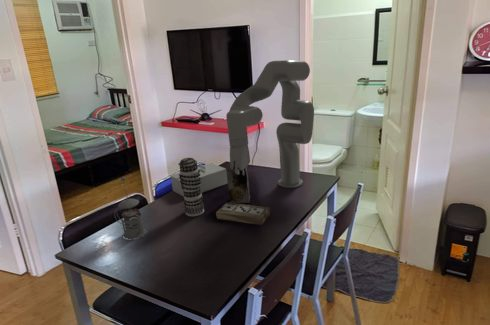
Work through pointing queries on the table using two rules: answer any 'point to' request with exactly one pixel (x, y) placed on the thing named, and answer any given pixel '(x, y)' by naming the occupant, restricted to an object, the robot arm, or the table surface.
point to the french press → (135, 229)
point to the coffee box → (237, 188)
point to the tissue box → (204, 178)
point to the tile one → (229, 208)
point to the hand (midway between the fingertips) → (243, 182)
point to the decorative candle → (191, 187)
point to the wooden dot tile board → (243, 215)
